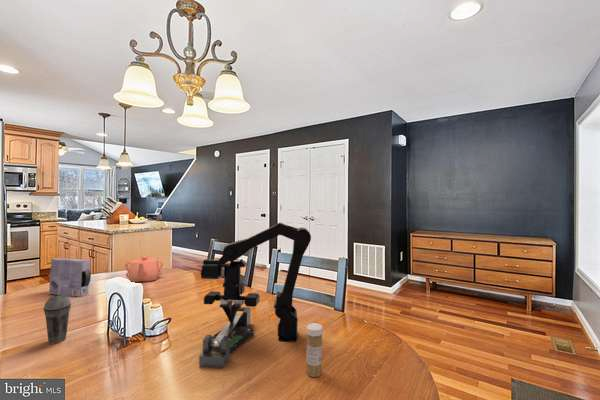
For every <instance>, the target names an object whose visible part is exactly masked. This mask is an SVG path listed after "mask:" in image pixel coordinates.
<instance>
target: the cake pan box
mask: <svg viewBox="0 0 600 400" xmlns="http://www.w3.org/2000/svg"><path fill="white" fill-rule="evenodd" d="M90 266H91V261H90V259H78V258H77V259H76V258H63V257H56V258H51V261H50V274H49V277H50V278H49V289H48V291H49V292H48V295H50V294H54V295H58V286H59V281H61V283H60V294H62V295H65V296H67V297H75V296H77V298H82V297H85V296H88V295H89V287H90V286H89V285H90V282H91V279H92V278H91V277H92V276H91V271H90V269H91V268H90ZM87 294H88V295H87ZM54 295H53V296H54ZM84 295H85V296H84Z"/></svg>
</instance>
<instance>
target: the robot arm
mask: <svg viewBox="0 0 600 400" xmlns="http://www.w3.org/2000/svg"><path fill="white" fill-rule="evenodd" d="M279 236H283V237H285V238H287V239H289V240H293V242H292V254H291V257H290V260H289V265H288V268H287V272H286V276H285V278H284V279H285V280H284V283H283V287H282V289H281V291H278V290H277V291H276V297H275V299H274V300H273V301H274V302H273V309H274V313H275V315H276V317H277V318H278V319H279V322H278V324H277V337H278V338H277V340H278V341H280V342H281V341H282V342H297V341H298V337H299V331H298V329H299V327H298V326H299V323H298V322H299V318H298V314H297V309H296V308H295V306H293V299H294V298H293V295H294V290H295V287H296V282H297V279H298V275H299V272H300V268H301V264H302V260H303V257H304V254H305V253H306V251H307V249H308V248H309V245H310V242H311V240H312V235H311V233H310V231H309V230H308V229H307V228H306V227H299V228H298V227H296V226H295V227H294V226H291V225H287V224H285V223H282V222H277V223H276V224H274V225H272V226H271V227H269V228H267V229H264V230H262V231H260V232H258V233H256V234H254V235H252V236H250V237H247V238H244V239H241V240H236V241H233V242H230V243H229V244H228V245H226V246H225V247H224V248H223V251H222V256H220V258H218V259H209V258H205V259H203V261H202V262H203V263H202V267H201V270H200V277H201V280H220V279H221V278H220V277H223V283H222V287H223V294H221V292H220V291H214V290H213V291H211V290H210V291H209V292H208V293H207V294H206V295H204V296H203V304H204V305H213V304H214V303H215V302H216V301H218V302H219V301H220V304H219V307H220V308H222V310H223V312H224V313H225V316H226V317H227V320H228V319H229V321H230V323H233V322H234V319H235V316H236V313H237V310H238V308H240V307H243V305H245V306H246V307H251V308H253V307H254V308H255V307H257V305H258V304H259V302H260V300H261V298H260V297H261V296H260V294H259V293H254V292H249V293H248V294H247V295H243V294H244V293H245V289H246V288H245V287H246V284H245V283H242V278H241V277H242V275H241V274H242V271H241V269H242V268H245V267H246V265H247V262H245V261H244V260H243V258H241V257H242V256H243V255H245V254H246V253H247V252H249V251H250V250H251V249H253V248H255V247H259V245H262V244H264V243H265V242H268V241H270V240H271V239H274V238H276V237H279ZM239 258H240V260H238V259H239ZM228 262H229V263H228Z"/></svg>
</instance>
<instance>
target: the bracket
mask: <svg viewBox="0 0 600 400" xmlns="http://www.w3.org/2000/svg"><path fill="white" fill-rule="evenodd" d="M251 308H252V307H250V306H246V307H245V306H241V307H240V308H238V310H237V311H243V315H242V316H241V318H240V319H239V321H238V322H237V324H236V326H237V327H239V326H244V327H248V328H250V327H249V326H250V325H251V311H252V309H251ZM227 321H229V319H228V318H227ZM212 336H213V335H212V334H207V335H205V337H204V338H203V339H202V353H201V354H200V355H199V356H198V359H199V360H198V363H199V367H201V368H213V369H214V368H215V369H224V368H225V366H226V364H227V363H228V361H229V359H230V354H229V341H230V336H224V337H223V339H222V340H221V352H220V353H213V350H212V347H211V342H212Z"/></svg>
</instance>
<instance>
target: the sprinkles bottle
mask: <svg viewBox="0 0 600 400" xmlns="http://www.w3.org/2000/svg"><path fill="white" fill-rule="evenodd" d="M323 334H324V333H323V326H322V325H321V324H320V323H314V322H313V323H309V324H308V325H307V326H306V371H305V372H306V374H307V375H308V377H312V378H318V377H320V376H322V373H323V372H322V369H323V368H322V362H323V342H322V341H323Z"/></svg>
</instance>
